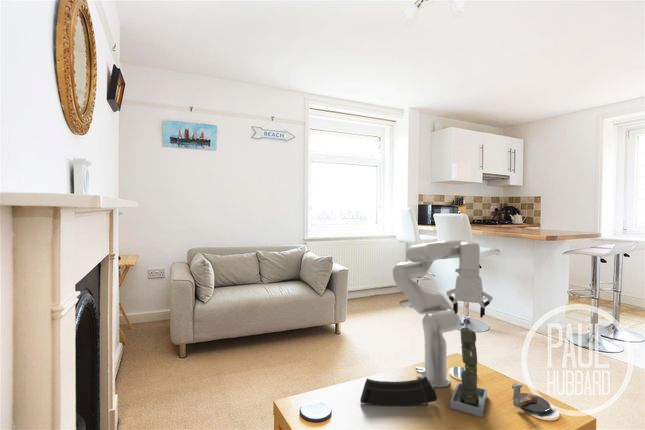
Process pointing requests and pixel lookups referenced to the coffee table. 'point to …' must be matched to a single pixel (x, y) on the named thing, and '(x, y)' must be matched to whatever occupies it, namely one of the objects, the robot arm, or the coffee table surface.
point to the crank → (518, 402)
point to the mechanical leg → (469, 368)
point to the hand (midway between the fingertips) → (468, 314)
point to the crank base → (536, 405)
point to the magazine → (398, 392)
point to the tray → (466, 408)
